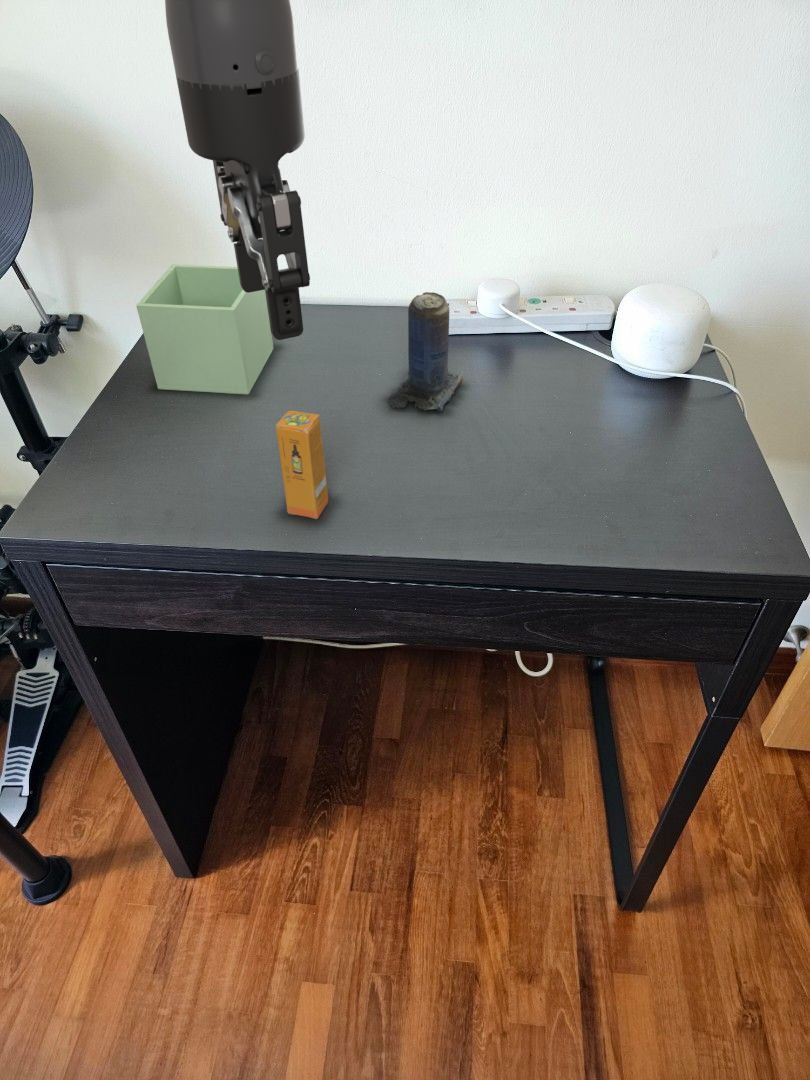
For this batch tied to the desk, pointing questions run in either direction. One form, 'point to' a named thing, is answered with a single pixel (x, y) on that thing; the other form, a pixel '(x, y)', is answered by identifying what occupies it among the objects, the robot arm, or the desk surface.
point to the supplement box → (302, 463)
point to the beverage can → (427, 356)
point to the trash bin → (205, 330)
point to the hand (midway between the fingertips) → (271, 311)
